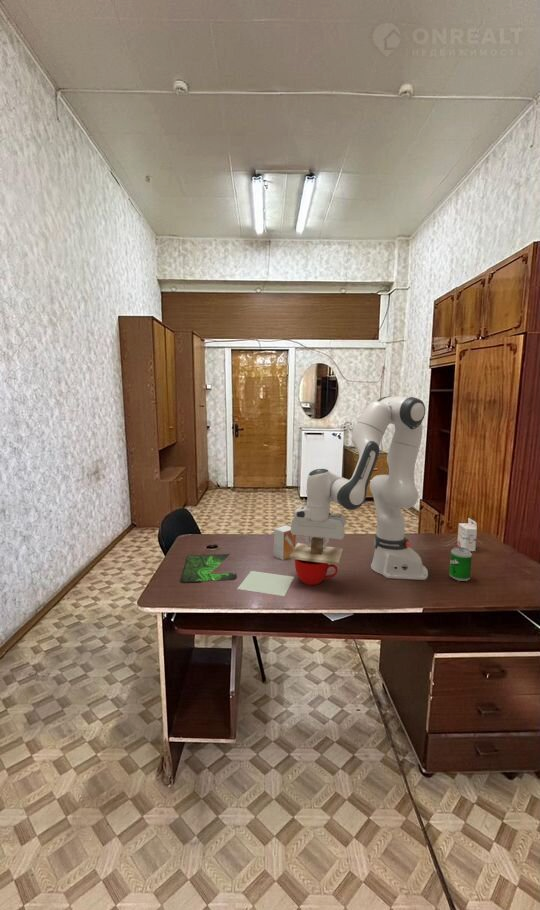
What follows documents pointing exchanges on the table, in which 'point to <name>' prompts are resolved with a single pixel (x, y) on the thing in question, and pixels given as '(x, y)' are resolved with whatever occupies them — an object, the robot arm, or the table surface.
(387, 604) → the table surface
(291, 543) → the small box
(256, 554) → the table surface
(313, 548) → the lid
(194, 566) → the mouse mat
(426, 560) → the table surface
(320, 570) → the ceramic cup
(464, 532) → the ink cartridge box
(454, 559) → the soda can
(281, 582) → the mat
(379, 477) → the robot arm
